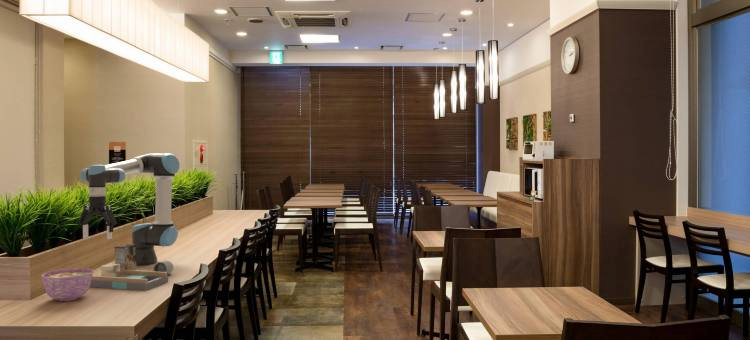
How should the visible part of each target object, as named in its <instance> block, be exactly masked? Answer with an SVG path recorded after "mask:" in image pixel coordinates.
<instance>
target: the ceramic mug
mask: <svg viewBox="0 0 750 340" xmlns="http://www.w3.org/2000/svg"><path fill="white" fill-rule="evenodd" d="M152 271H156V272H167V275H168V274H171V273H172V272H173V271H174V264H173V263H172V261H170V260H163V261H159V262H158V261H157V262H156V263H154V266H153V269H152Z"/></svg>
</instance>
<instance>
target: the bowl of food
mask: <svg viewBox="0 0 750 340" xmlns="http://www.w3.org/2000/svg"><path fill="white" fill-rule="evenodd" d="M92 276H94V269H92V268H88V267H87V268H84V267H73V268H72V267H71V268H63V269H62V268H61V269H56V270H51V271H47V272H44V273H43V274H41V280H42V284H43V286H44V290H45V293H46V294H47V295H48V296H49V297H50V298H52V299H53V300H57V301H59V302H70V301H75V300H78V299H79V298H80V297H82V296H84V295H85V294H87V292H89V289H90V288H91V287H90V283H91V279H92Z"/></svg>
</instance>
